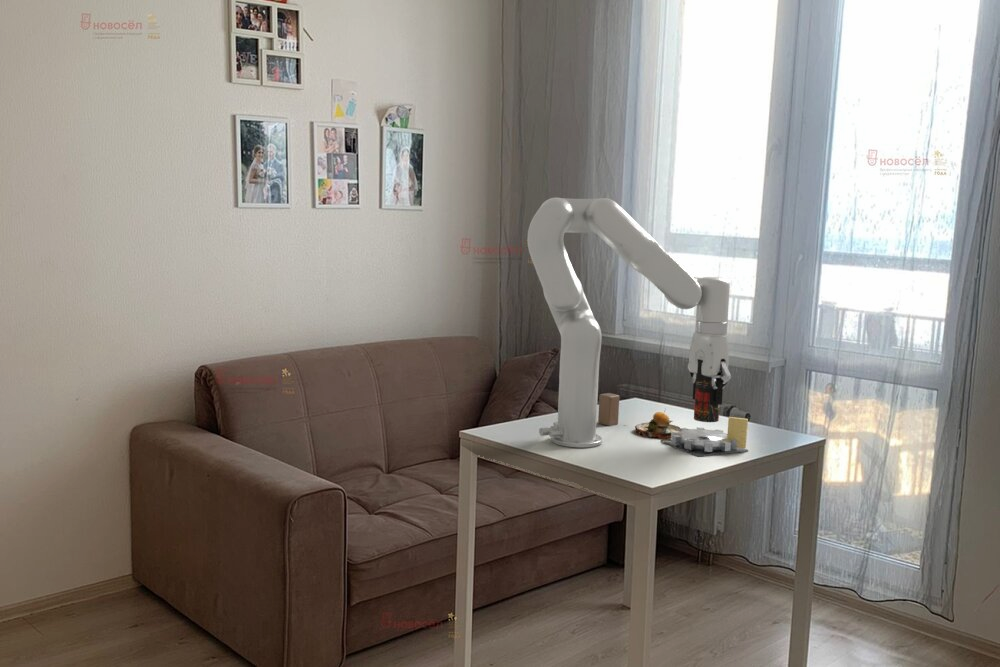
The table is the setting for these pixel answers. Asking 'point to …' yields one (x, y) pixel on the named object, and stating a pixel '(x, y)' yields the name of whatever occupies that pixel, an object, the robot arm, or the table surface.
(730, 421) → the sprocket
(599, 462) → the table surface
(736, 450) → the plate
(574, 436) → the robot arm
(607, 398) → the wooden block
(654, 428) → the burger
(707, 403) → the deodorant
